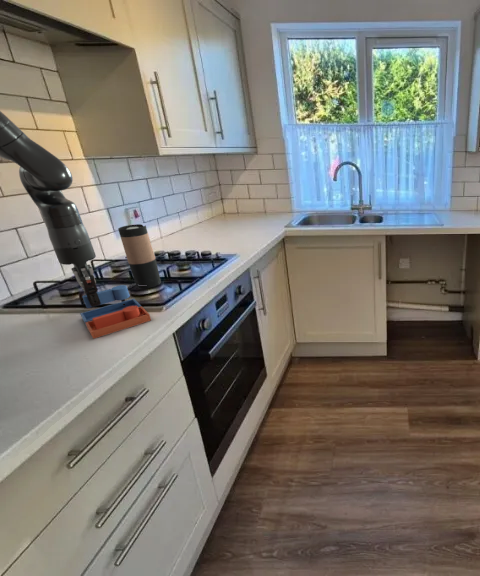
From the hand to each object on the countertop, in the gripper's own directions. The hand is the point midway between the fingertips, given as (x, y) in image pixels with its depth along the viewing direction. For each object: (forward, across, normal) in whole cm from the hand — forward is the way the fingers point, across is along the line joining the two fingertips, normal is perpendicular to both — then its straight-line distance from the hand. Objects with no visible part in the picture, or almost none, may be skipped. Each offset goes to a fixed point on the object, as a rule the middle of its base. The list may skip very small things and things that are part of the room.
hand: (95, 304), depth 98 cm
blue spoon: (0, 0, +3) cm, 3 cm away
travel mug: (+5, -18, +17) cm, 26 cm away
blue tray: (+5, 0, +3) cm, 5 cm away
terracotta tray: (+5, +8, +3) cm, 10 cm away
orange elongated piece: (+4, +8, +3) cm, 10 cm away
